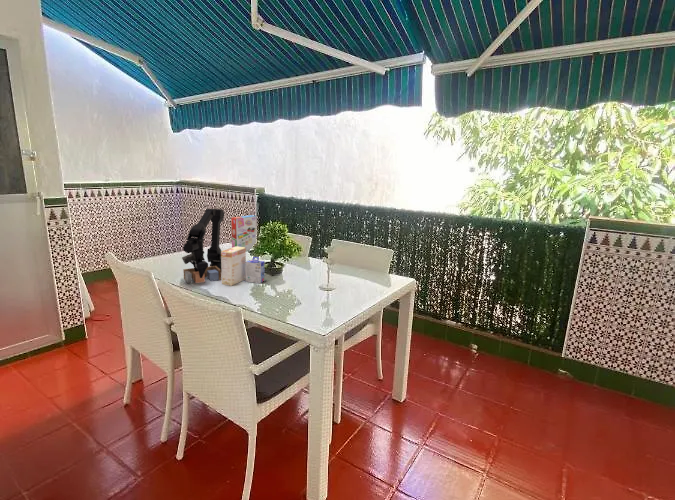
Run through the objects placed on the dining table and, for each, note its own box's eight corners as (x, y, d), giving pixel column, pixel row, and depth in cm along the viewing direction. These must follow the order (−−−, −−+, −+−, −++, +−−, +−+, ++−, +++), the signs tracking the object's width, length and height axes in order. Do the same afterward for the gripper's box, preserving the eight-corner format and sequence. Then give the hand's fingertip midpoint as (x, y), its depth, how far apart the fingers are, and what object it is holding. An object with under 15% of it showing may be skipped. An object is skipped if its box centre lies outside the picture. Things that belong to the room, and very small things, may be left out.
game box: (252, 248, 306) (252, 215, 300) (256, 249, 303) (256, 215, 297) (231, 252, 290) (231, 217, 284) (236, 253, 287) (235, 218, 281)
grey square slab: (189, 280, 218) (188, 271, 216) (192, 283, 212) (191, 273, 211) (185, 280, 216) (184, 271, 215) (187, 283, 211) (187, 274, 210)
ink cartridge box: (264, 280, 223) (265, 257, 220) (261, 283, 218) (261, 259, 215) (249, 279, 225) (249, 255, 222) (245, 281, 220) (245, 257, 217)
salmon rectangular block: (202, 279, 221) (201, 271, 220) (204, 282, 217) (204, 273, 215) (193, 280, 219) (193, 272, 218) (195, 283, 214) (195, 274, 213)
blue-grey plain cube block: (215, 277, 226) (215, 269, 225) (218, 280, 221) (218, 272, 220) (207, 278, 223) (206, 270, 222) (210, 281, 218) (209, 273, 217)
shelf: (216, 275, 230) (215, 265, 229) (221, 279, 222) (221, 270, 220) (183, 279, 220) (183, 269, 218) (187, 284, 211) (187, 273, 210)
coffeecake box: (236, 277, 228) (235, 246, 223) (246, 279, 225) (246, 247, 221) (221, 284, 214) (220, 250, 210) (231, 286, 212) (231, 252, 207)
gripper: (179, 247, 217) (180, 273, 220) (186, 254, 201) (188, 282, 205) (199, 246, 223) (200, 271, 226) (207, 252, 208) (208, 279, 211)
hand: (198, 275), depth 217 cm, fingers open, 9 cm apart
